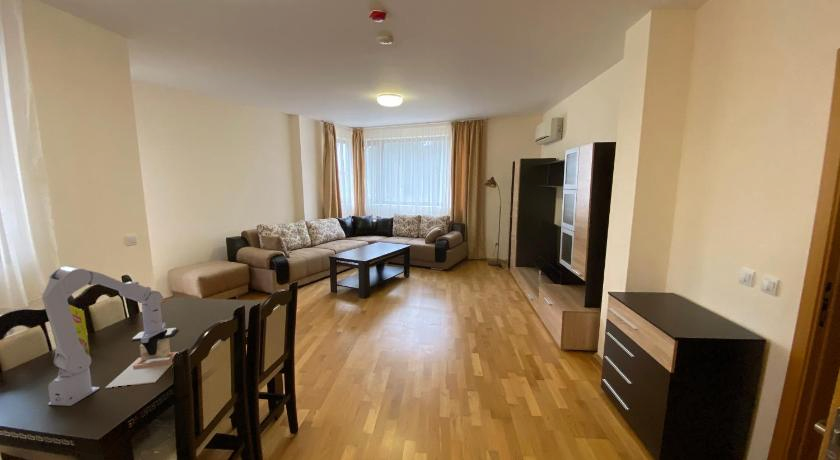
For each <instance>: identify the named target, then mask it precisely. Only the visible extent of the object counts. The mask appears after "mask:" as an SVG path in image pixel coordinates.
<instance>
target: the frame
mask: <svg viewBox="0 0 840 460" xmlns="http://www.w3.org/2000/svg"><path fill="white" fill-rule="evenodd" d="M176 353H178V354H179V351H172V352H171V351H170V353H169V354H168V355H167V356H166V357H168V356H171V357H170V358H169V359H168V361H163V362H154V363H144V364H142V363H143V362H144V361H145V360H141V359H140V360H139V361H138V362H137V363H135V364H134V365H133V369H136V368H145V367H154V366H163V365H169V364H170V363H171V362H172V359H173V357H174V355H175V354H176Z"/></svg>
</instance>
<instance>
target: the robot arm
mask: <svg viewBox="0 0 840 460" xmlns="http://www.w3.org/2000/svg"><path fill="white" fill-rule="evenodd" d="M87 285H89V286H93V285H100V286H103V287H106V288H110V289H113V290H115V291H118V293H119V296H121V297H123V298H125V299H129V300H133V301H135V302H138V303H139V304H141V311H142V312H141V313H142V319H143V320H142V321H143V323H142V324H143V331H144V333H143V336H142V338H141V340H139V341H140V345H141V344H143V345H144V347H145V348H146V350H147V352H148V354H149V355H155V354H156V352H157V342H158V340H159V339H166V338H165V335H166V333H167V329H168V328H167V327H166V326H167V325H166V322H163V320H162V319H163V317H162V308H161V304H162V302H163V300H164V296H163V295H162V294H161V292H160V291H157V290H153V289H152V287H150V286H144V285H141V284H140V282H138V281H136V280H135V281H127V282H123V281H121V280H117V279H116V278H113V277H111V276H108V275H106V274H103V273H101V272H98V271H93V270H88V269H85V268H79V267H75V266H74V265H73V266H72V265H65V266H62V267H59V268H57V269H56V270H55V271H54V272H52V273H51V274H50V275H49V280H48V282H47V285H46V287H45V289H44V291H43V293H42V295H41V296H42V297H41V299H42V302H43V305H44V309H45V312H46V315H47V318H48V321H49V325H50V327H51V331H52V335H53V338H54V342H55V345H56V348H55V350H54V352H55V355H54V359H53V364H54V365H55V366H56V367H57V368H58V372H57V377H56V378H54V379H52V381H51V382H49V384H48V386H47V388H48V389H47V391H48V398H49V402H48V404H47V405H48V406H49V405H50V406H73V405H74V404H77V403H78V402H80V401H82V399H84V398H86V397H87V396H90V395H91V394H93V393H95V392H97V391H98V390H100V387H99V386H92V377H91V371H90V370H91V369H90V366H91V364H92V357H91V356H89V355H88V354H86V352H85V350H84V348H83V346H82V345H81V344H80V342H79V339H78V335H77V332H76V328H75V325H74V321H73V318H72V314H71V311H70V307H69V305H70V304H69V302H68V301H69V300H68V299H69V298H70V297H71V296H72V295H73V294H74V293H76V292H77V291H79V290H80V289H82V288H84V287H86V286H87Z"/></svg>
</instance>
